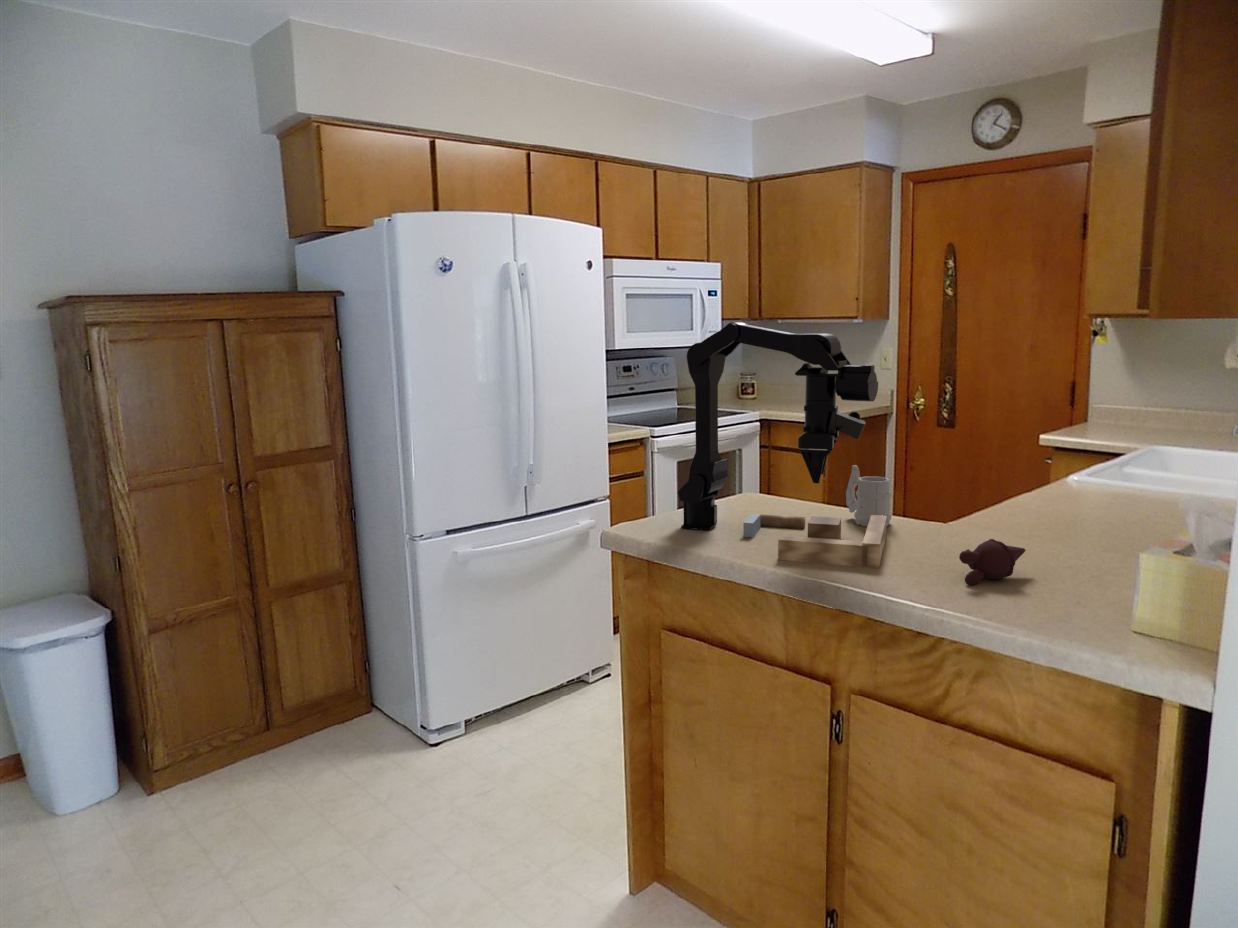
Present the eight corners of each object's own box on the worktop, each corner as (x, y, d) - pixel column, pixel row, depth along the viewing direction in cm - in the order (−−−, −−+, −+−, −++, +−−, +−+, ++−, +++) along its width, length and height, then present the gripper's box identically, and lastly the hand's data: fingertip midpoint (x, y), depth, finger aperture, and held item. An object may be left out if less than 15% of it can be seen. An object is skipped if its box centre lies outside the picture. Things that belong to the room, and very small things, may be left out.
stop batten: (743, 536, 168) (743, 522, 167) (751, 527, 175) (751, 513, 174) (753, 537, 167) (753, 523, 166) (760, 528, 174) (760, 514, 174)
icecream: (1002, 530, 144) (941, 549, 137) (1038, 529, 137) (976, 549, 131) (1010, 568, 144) (950, 589, 137) (1047, 569, 137) (986, 591, 130)
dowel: (757, 526, 176) (757, 515, 176) (759, 524, 179) (759, 513, 178) (803, 529, 173) (804, 518, 172) (805, 527, 175) (805, 516, 175)
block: (807, 542, 163) (807, 523, 162) (810, 535, 169) (811, 516, 168) (838, 544, 161) (838, 525, 160) (840, 536, 167) (841, 518, 166)
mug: (872, 529, 171) (874, 473, 169) (833, 518, 182) (835, 465, 180) (898, 524, 174) (900, 470, 172) (859, 514, 185) (861, 462, 183)
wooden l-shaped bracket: (778, 560, 151) (778, 537, 150) (796, 531, 172) (797, 510, 171) (879, 568, 145) (879, 544, 144) (886, 537, 165) (886, 515, 165)
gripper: (862, 405, 145) (859, 490, 148) (865, 395, 163) (862, 472, 165) (798, 404, 149) (797, 487, 152) (808, 395, 166) (807, 469, 169)
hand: (818, 478), depth 159 cm, fingers open, 9 cm apart
